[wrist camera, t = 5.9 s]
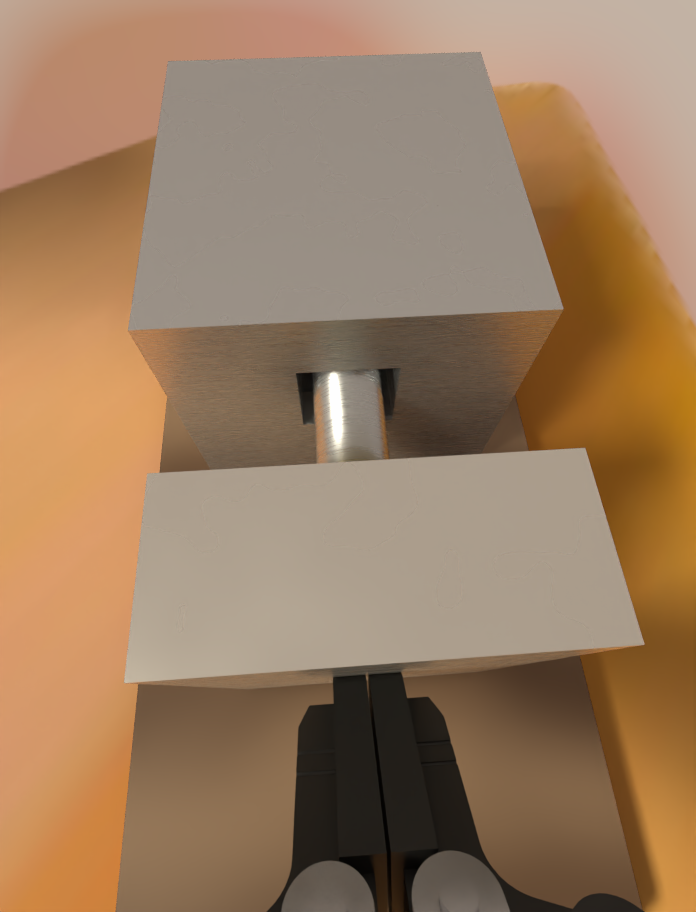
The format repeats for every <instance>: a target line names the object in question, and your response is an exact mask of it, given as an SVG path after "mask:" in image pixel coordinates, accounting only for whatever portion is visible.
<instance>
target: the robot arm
mask: <svg viewBox="0 0 696 912" xmlns="http://www.w3.org/2000/svg"><path fill="white" fill-rule="evenodd" d="M368 695H369V698H368ZM333 700H334V704H322V705H309V707H308V709H307V711H306V713H305V715H304V717H303V719H302V721H301V723H300V725H299V727H298V745H297V766H296V788H295V809H294V831H293V852H292V865H291V870H290V874H289V878H288V880H287V883H286V885H285V887H284V889H283V891H282V893H281V895H280V896H279V898H278V899H277V900H276V902H275V903H274V904H273V905H272V906H271V907H270V909H269V910H268V911H267V912H644V911H643V910H641V909H640V908H639V907H637V906H636V905H634V904H633V903H631V902H629V901H627V900H625V899H623V898H621V897H618V896H615V895H611V894H605V893H597V894H591V895H588V896H586V897H584V898H582V899H581V900H580V901H578V903H577V904H576V905H575V906H574V908H573V909H571V908H568V907H565V906H561V905H558V904H555V903H551V902H548V901H544V900H541V899H538V898H534V897H532V896H529V895H526V894H524V893H522V892H520V891H519V890H517V889H515V888H514V887H512V886H511V885H509V884H508V883H507V882H506V881H505V880H504V879H502V878H501V877H500V876H499V875H498V873H497V872H496V871H495V870H494V869H493V868H492V866H491V865H490V863H489V862H488V860H487V858H486V856H485V854H484V852H483V850H482V847H481V844H480V841H479V838H478V834H477V831H476V827H475V824H474V820H473V817H472V813H471V810H470V806H469V803H468V799H467V796H466V792H465V788H464V785H463V781H462V778H461V774H460V771H459V767H458V765H457V762H456V757H455V753H454V750H453V746H452V745H451V739H450V736H449V732H448V729H447V725H446V722H445V718H444V715H443V714H442V713H441V712H440V710H439V709H438V708H437V707H436V705H435V704H434V703H433V702H432V700H431V699H430V698H429V697H415V698H407V695H406V690H405V685H404V680H403V676H402V673H401V672H398V673H384V674H371V675H368V689H367V681H366V675H357V676H344V677H333Z"/></svg>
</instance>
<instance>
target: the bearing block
mask: <svg viewBox="0 0 696 912" xmlns="http://www.w3.org/2000/svg"><path fill="white" fill-rule="evenodd" d="M563 310H564V308H563V305H562V302H561V299H560V296H559V293H558V290H557V287H556V284H555V280H554V277H553V274H552V271H551V268H550V265H549V262H548V259H547V256H546V253H545V250H544V247H543V243H542V240H541V237H540V234H539V231H538V228H537V225H536V222H535V219H534V216H533V213H532V209H531V206H530V203H529V200H528V197H527V194H526V191H525V188H524V185H523V182H522V179H521V175H520V172H519V169H518V166H517V163H516V160H515V157H514V154H513V151H512V148H511V145H510V141H509V138H508V135H507V132H506V129H505V126H504V123H503V120H502V117H501V114H500V111H499V108H498V104H497V101H496V98H495V95H494V92H493V89H492V86H491V83H490V80H489V77H488V74H487V70H486V68H485V64H484V61H483V58H482V55H481V52H468V53H434V54H402V55H401V54H400V55H368V56H331V57H297V58H263V59H233V60H232V59H230V60H196V61H168V65H167V72H166V80H165V86H164V92H163V99H162V106H161V113H160V119H159V126H158V133H157V139H156V146H155V153H154V159H153V166H152V173H151V180H150V186H149V193H148V200H147V206H146V213H145V220H144V227H143V233H142V240H141V247H140V254H139V260H138V267H137V274H136V280H135V287H134V294H133V301H132V307H131V314H130V321H129V327H128V331H129V333H130V335H131V336H132V338H133V340H134V341H135V343H136V345H137V346H138V348H139V350H140V351H141V353H142V355H143V356H144V358H145V360H146V362H147V363H148V365H149V367H150V368H151V370H152V372H153V373H154V375H155V377H156V378H157V380H158V382H159V383H160V385H161V387H162V388H163V390H164V392H165V394H166V395H167V397H168V399H169V400H170V402H171V404H172V405H173V407H174V409H175V410H176V412H177V414H178V415H179V417H180V419H181V421H182V422H183V424H184V426H185V427H186V429H187V431H188V432H189V434H190V436H191V437H192V439H193V441H194V442H195V444H196V446H197V448H198V449H199V451H200V453H201V454H202V456H203V458H204V459H205V461H206V463H207V464H208V466H209V468H210V469H211V470H217V469H234V468H251V467H268V466H285V465H302V464H317V462H316V440H315V418H314V396H313V375H312V372H329V371H348V370H367V369H380V377H381V386H382V395H383V403H384V412H385V421H386V429H387V438H388V447H389V455H390V459H404V458H421V457H438V456H455V455H472V454H481V453H482V451H483V449H484V448H485V446H486V444H487V442H488V441H489V439H490V437H491V435H492V434H493V432H494V430H495V428H496V427H497V425H498V423H499V421H500V420H501V418H502V416H503V415H504V413H505V411H506V409H507V408H508V406H509V404H510V402H511V401H512V399H513V397H514V395H515V394H516V392H517V390H518V388H519V387H520V385H521V383H522V381H523V380H524V378H525V376H526V374H527V373H528V371H529V369H530V367H531V366H532V364H533V362H534V360H535V359H536V357H537V355H538V353H539V352H540V350H541V348H542V346H543V345H544V343H545V341H546V339H547V338H548V336H549V334H550V332H551V331H552V329H553V327H554V325H555V324H556V322H557V320H558V319H559V317H560V315H561V313H562V312H563Z"/></svg>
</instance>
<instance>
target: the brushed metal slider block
mask: <svg viewBox="0 0 696 912" xmlns="http://www.w3.org/2000/svg"><path fill="white" fill-rule="evenodd" d="M312 375H313V396H314V418H315V440H316V462H317V464H302V465H285V466H268V467H251V468H234V469H217V470H200V471H183V472H166V473H149V474H147V481H146V490H145V499H144V508H143V517H142V526H141V535H140V544H139V553H138V562H137V571H136V580H135V589H134V598H133V607H132V616H131V625H130V634H129V643H128V652H127V661H126V670H125V679H124V683H130V684H151V685H171V686H192V687H213V688H234V689H257V688H270V687H284V686H297V685H310V684H324V683H333V677H344V676H357V675H366V680H368V675H371V674H384V673H398V672H401V673H402V676H403V678H404V677H417V676H430V675H444V674H457V673H471V672H480V671H486V670H493V669H499V668H505V667H511V666H517V665H523V664H529V663H536V662H542V661H548V660H554V659H560V658H566V657H572V656H579V655H585V654H591V653H597V652H603V651H609V650H616V649H622V648H628V647H634V646H640V645H645V644H644V641H643V638H642V634H641V631H640V628H639V624H638V621H637V618H636V614H635V611H634V608H633V605H632V601H631V598H630V595H629V591H628V588H627V585H626V581H625V578H624V575H623V571H622V568H621V565H620V561H619V558H618V555H617V551H616V548H615V545H614V542H613V538H612V535H611V532H610V528H609V525H608V522H607V518H606V515H605V512H604V508H603V505H602V502H601V498H600V495H599V492H598V488H597V485H596V482H595V479H594V475H593V472H592V469H591V465H590V462H589V459H588V455H587V452H586V449H585V448H574V449H557V450H540V451H523V452H506V453H489V454H472V455H455V456H438V457H421V458H404V459H390V455H389V447H388V438H387V429H386V421H385V412H384V403H383V395H382V386H381V377H380V369H367V370H348V371H329V372H312Z"/></svg>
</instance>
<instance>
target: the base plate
mask: <svg viewBox="0 0 696 912" xmlns="http://www.w3.org/2000/svg"><path fill="white" fill-rule="evenodd" d="M523 451H529V449H528V445H527V441H526V437H525V433H524V429H523V425H522V421H521V417H520V413H519V409H518V405H517V401H516V397H515V395H514V397H513V399H512V401H511V402H510V404H509V406H508V408H507V409H506V411H505V413H504V415H503V416H502V418H501V420H500V421H499V423H498V425H497V427H496V428H495V430H494V432H493V434H492V435H491V437H490V439H489V441H488V442H487V444H486V446H485V448H484V449H483V451H482V453H481V454H489V453H506V452H523ZM200 470H211V469H210V468H209V466H208V464H207V463H206V461H205V459H204V458H203V456H202V454H201V453H200V451H199V449H198V448H197V446H196V444H195V442H194V441H193V439H192V437H191V436H190V434H189V432H188V431H187V429H186V427H185V426H184V424H183V422H182V421H181V419H180V417H179V415H178V414H177V412H176V410H175V409H174V407H173V405H172V404H171V402H170V400H169V399H168V397H167V403H166V413H165V423H164V433H163V443H162V453H161V463H160V473H166V472H183V471H200ZM403 680H404V685H405V690H406V695H407V698H415V697H429V698H430V699H431V700H432V702H433V703H434V704H435V705H436V707H437V708H438V709H439V710H440V712H441V713H442V714H443V715H444V718H445V722H446V725H447V729H448V732H449V736H450V739H451V745H452V746H453V750H454V753H455V757H456V762H457V765H458V767H459V771H460V774H461V778H462V781H463V785H464V788H465V792H466V796H467V799H468V803H469V806H470V810H471V813H472V817H473V820H474V824H475V827H476V831H477V834H478V838H479V841H480V844H481V847H482V850H483V852H484V854H485V856H486V858H487V860H488V862H489V863H490V865H491V866H492V868H493V869H494V870H495V871H496V872H497V873H498V875H499V876H500V877H501V878H502V879H504V880H505V881H506V882H507V883H508V884H509V885H511V886H512V887H514V888H515V889H517V890H519V891H520V892H522V893H524V894H526V895H529V896H532V897H534V898H538V899H541V900H544V901H548V902H551V903H555V904H558V905H561V906H565V907H568V908H571V909H573V908H574V906H575V905H576V904H577V903H578V901H580V900H581V899H582V898H584V897H586V896H588V895H591V894H597V893H605V894H611V895H615V896H618V897H621V898H623V899H625V900H627V901H629V902H631V903H633V904H634V905H636V906H637V907H639V908H640V909H641V910H642V906H641V902H640V898H639V894H638V890H637V886H636V882H635V878H634V874H633V869H632V865H631V861H630V857H629V853H628V849H627V845H626V841H625V837H624V833H623V829H622V825H621V821H620V817H619V813H618V809H617V805H616V801H615V797H614V793H613V789H612V785H611V781H610V776H609V772H608V768H607V764H606V760H605V756H604V752H603V748H602V744H601V740H600V736H599V732H598V728H597V724H596V720H595V716H594V712H593V708H592V704H591V700H590V696H589V692H588V688H587V684H586V679H585V675H584V671H583V667H582V663H581V659H580V655H579V656H572V657H566V658H560V659H554V660H548V661H542V662H536V663H529V664H523V665H517V666H511V667H505V668H499V669H493V670H486V671H480V672H471V673H457V674H444V675H430V676H417V677H404V678H403ZM366 681H367V689H368V680H366ZM368 698H369V695H368ZM322 704H334V700H333V683H324V684H310V685H297V686H284V687H270V688H257V689H234V688H213V687H192V686H171V685H151V684H138V693H137V703H136V713H135V723H134V733H133V743H132V753H131V763H130V773H129V783H128V793H127V803H126V813H125V823H124V833H123V843H122V853H121V863H120V873H119V883H118V893H117V903H116V912H267V911H268V910H269V909H270V907H271V906H272V905H273V904H274V903H275V902H276V900H277V899H278V898H279V896H280V895H281V893H282V891H283V889H284V887H285V885H286V883H287V880H288V878H289V874H290V870H291V865H292V852H293V831H294V809H295V788H296V766H297V745H298V727H299V725H300V723H301V721H302V719H303V717H304V715H305V713H306V711H307V709H308V707H309V705H322Z"/></svg>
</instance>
